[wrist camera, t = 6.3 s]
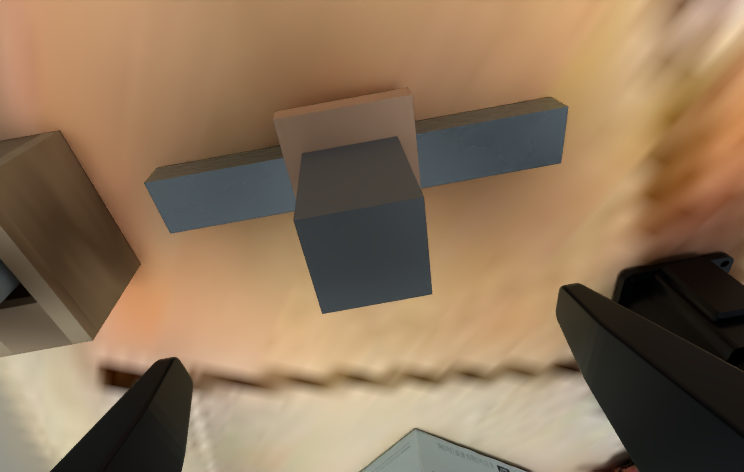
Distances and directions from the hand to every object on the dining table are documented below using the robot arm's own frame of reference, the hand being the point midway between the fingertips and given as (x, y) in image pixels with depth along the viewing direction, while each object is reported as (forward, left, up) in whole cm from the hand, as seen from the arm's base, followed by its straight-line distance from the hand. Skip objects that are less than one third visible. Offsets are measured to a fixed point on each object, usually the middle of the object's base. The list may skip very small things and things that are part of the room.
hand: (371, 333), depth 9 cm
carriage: (0, 0, -11) cm, 11 cm away
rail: (0, 0, -11) cm, 11 cm away
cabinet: (0, +13, -11) cm, 17 cm away
